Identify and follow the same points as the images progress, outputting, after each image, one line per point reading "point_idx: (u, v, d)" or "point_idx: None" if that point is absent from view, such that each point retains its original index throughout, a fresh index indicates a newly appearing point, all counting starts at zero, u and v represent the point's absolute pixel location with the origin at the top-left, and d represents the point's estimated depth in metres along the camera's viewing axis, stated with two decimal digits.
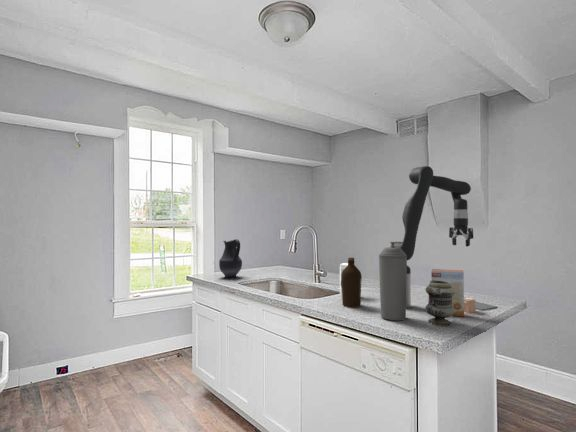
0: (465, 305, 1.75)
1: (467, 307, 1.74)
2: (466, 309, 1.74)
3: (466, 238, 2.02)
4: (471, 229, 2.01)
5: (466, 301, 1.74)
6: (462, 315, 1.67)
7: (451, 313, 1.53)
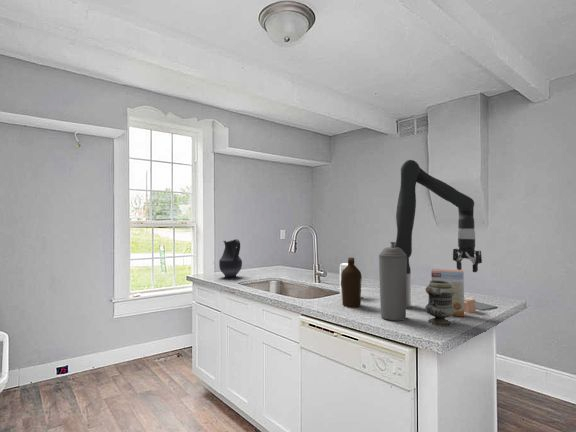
0: (465, 305, 1.75)
1: (467, 307, 1.74)
2: (466, 309, 1.74)
3: (473, 263, 1.72)
4: (479, 252, 1.71)
5: (466, 301, 1.74)
6: (462, 315, 1.67)
7: (451, 313, 1.53)
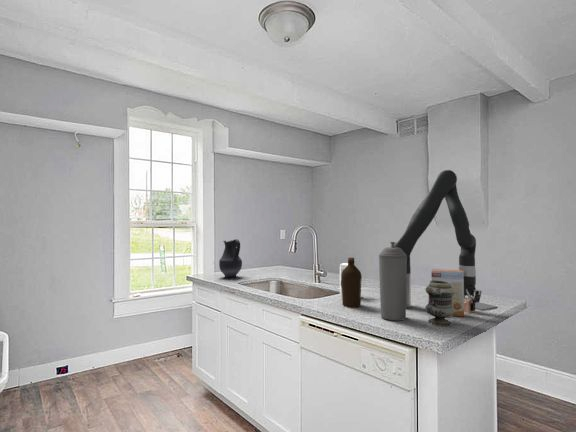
0: (465, 305, 1.75)
1: (467, 307, 1.74)
2: (466, 309, 1.74)
3: (471, 301, 1.73)
4: (479, 293, 1.71)
5: (466, 301, 1.74)
6: (462, 315, 1.67)
7: (451, 313, 1.53)
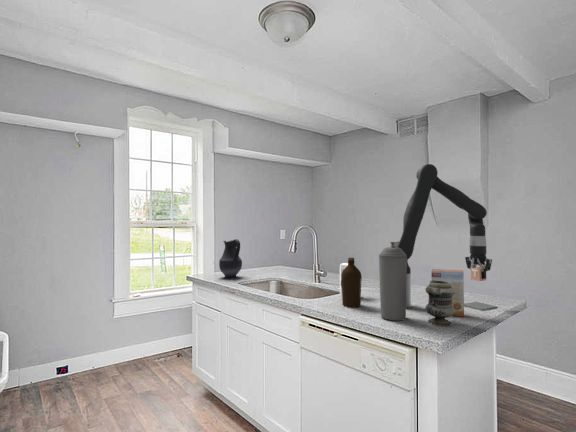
0: (476, 273, 1.82)
1: (478, 275, 1.81)
2: (477, 277, 1.82)
3: (482, 270, 1.81)
4: (490, 261, 1.78)
5: (477, 270, 1.82)
6: (462, 315, 1.67)
7: (451, 313, 1.53)
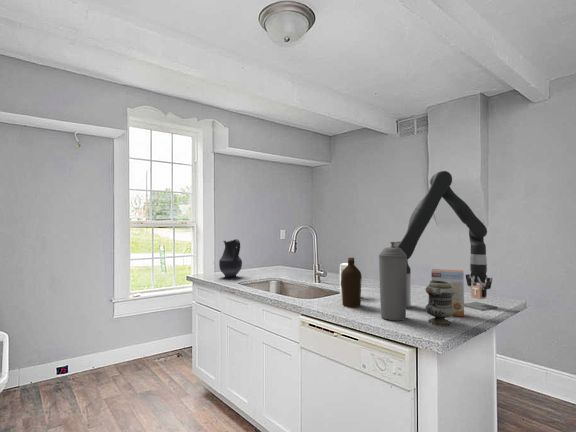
0: (477, 292, 1.84)
1: (479, 293, 1.83)
2: (478, 296, 1.83)
3: (482, 288, 1.82)
4: (490, 280, 1.79)
5: (478, 288, 1.83)
6: (462, 315, 1.67)
7: (451, 313, 1.53)
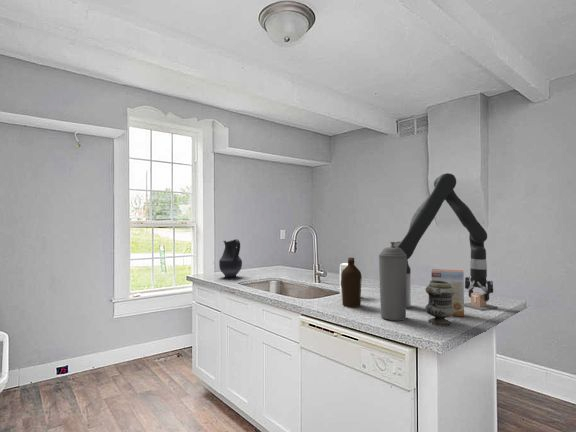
0: (476, 299, 1.83)
1: (478, 301, 1.82)
2: (478, 303, 1.83)
3: (485, 292, 1.80)
4: (491, 282, 1.79)
5: (477, 295, 1.83)
6: (462, 315, 1.67)
7: (451, 313, 1.53)
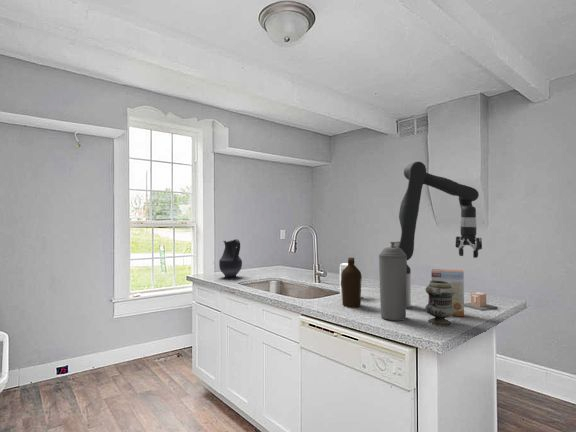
0: (476, 299, 1.83)
1: (478, 301, 1.82)
2: (478, 303, 1.83)
3: (474, 249, 1.86)
4: (479, 239, 1.85)
5: (477, 295, 1.83)
6: (462, 315, 1.67)
7: (451, 313, 1.53)
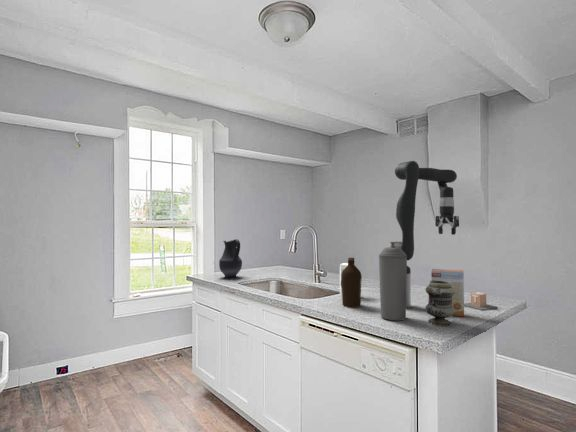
0: (476, 299, 1.83)
1: (478, 301, 1.82)
2: (478, 303, 1.83)
3: (452, 226, 2.00)
4: (457, 217, 1.99)
5: (477, 295, 1.83)
6: (462, 315, 1.67)
7: (451, 313, 1.53)
